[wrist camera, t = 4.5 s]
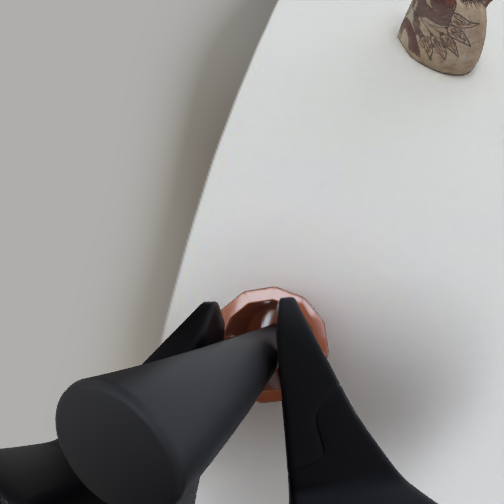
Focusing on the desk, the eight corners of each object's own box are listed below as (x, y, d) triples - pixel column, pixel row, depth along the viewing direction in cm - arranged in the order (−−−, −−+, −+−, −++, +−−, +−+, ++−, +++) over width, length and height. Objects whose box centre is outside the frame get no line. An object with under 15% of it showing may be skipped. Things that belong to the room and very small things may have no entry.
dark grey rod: (296, 348, 15) (198, 531, 2) (268, 352, 15) (75, 497, 2) (293, 320, 15) (160, 382, 2) (264, 324, 15) (39, 374, 2)
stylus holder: (328, 368, 15) (333, 394, 10) (247, 379, 16) (219, 405, 11) (316, 288, 16) (317, 279, 11) (236, 301, 16) (203, 297, 12)
